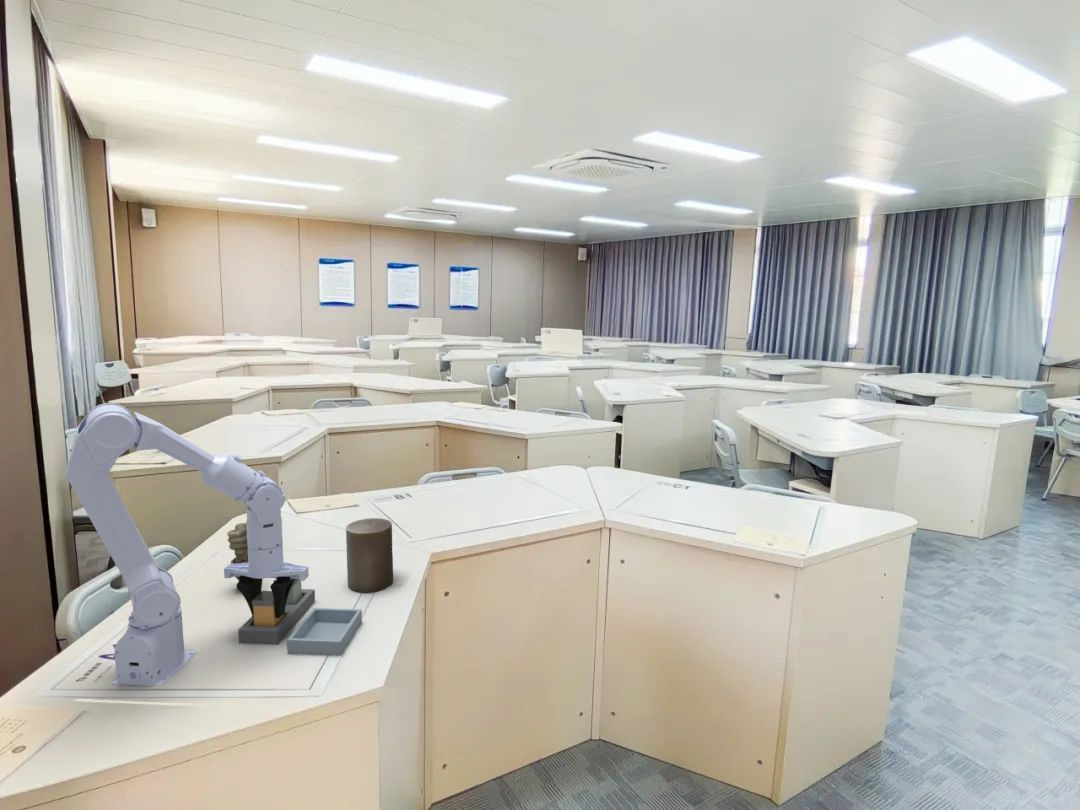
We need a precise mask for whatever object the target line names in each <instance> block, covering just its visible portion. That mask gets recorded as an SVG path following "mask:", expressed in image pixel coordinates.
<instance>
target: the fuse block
mask: <svg viewBox="0 0 1080 810" xmlns="http://www.w3.org/2000/svg"><path fill="white" fill-rule="evenodd" d="M315 602H316V590H315V588H314V589H311V588H309V589H308V588H302V598H301V600H300V601H299V602H298V603H297V604H296V605H286V606H285V613H284V614H283V619H282V620H281V622H280V623H279V624H278V625H277V626H276V627H273V626H254V617H253V616H252V615H251V616H250V617H249V619H248V620H247V621H246V622H244V623H243V624H242V625H241V626H240V628H239V629H237V633H238V634H237V635H238V644H246V645H247V644H249V645H252V644H253V645H279V644H280V643H281V642H282V640H284V639H285V638H286V636H288V634H289V632H291V630H292V629H293V628H295V625H296V624H297V623H298V622H299V621H300V620H301V619H302V617H303V616H304V615H305V614H306V613H307V611H308V610H309V609H310V608H311V607H312V606H313V604H315Z"/></svg>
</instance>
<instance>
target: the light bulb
mask: <svg viewBox="0 0 1080 810" xmlns="http://www.w3.org/2000/svg"><path fill="white" fill-rule="evenodd" d="M226 534H227V537H228V539H227V541H228V543H230V544H229V547H228V548H229V549H230V550H232V551H234V555H235V557H234V558H233V559H231V561H230V564H239V563H248V544H247V525H246V522H240V523H237V524H236V525H235V526H234V529H231V530H229V531H227V533H226ZM235 579H237V581H238V582H239V580H240V577H235Z"/></svg>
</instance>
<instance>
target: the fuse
mask: <svg viewBox="0 0 1080 810" xmlns="http://www.w3.org/2000/svg"><path fill="white" fill-rule="evenodd" d="M276 580H277V578H274V579H273V583H274V582H275V581H276ZM302 589H303V588H302V581H299V579H295V581H294V583H293V585H292V587H291V589H290V592H289V595H288V598H287V602H286V605H296V604H297V603H298V602H299V601H300V600H301V598H302Z"/></svg>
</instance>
